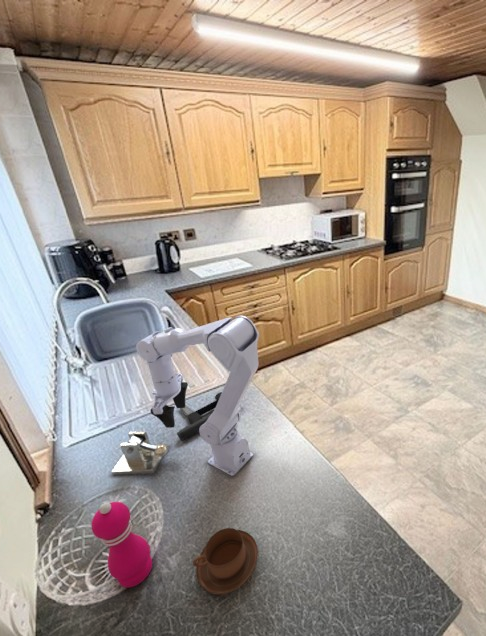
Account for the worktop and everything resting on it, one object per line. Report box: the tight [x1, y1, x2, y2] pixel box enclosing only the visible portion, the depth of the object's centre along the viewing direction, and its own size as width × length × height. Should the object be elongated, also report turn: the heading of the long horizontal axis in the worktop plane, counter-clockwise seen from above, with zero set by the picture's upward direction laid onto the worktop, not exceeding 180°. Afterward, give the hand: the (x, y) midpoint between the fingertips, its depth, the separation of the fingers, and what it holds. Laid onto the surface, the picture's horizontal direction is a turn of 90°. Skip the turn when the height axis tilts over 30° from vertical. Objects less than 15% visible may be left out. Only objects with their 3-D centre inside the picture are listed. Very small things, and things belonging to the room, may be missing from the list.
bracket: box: [111, 430, 169, 475], centre depth 94 cm, size 11×9×8 cm
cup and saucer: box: [192, 527, 259, 595], centre depth 69 cm, size 12×12×6 cm
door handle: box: [176, 391, 222, 441], centre depth 111 cm, size 3×20×16 cm
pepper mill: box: [91, 501, 153, 589], centre depth 66 cm, size 7×7×20 cm
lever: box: [127, 436, 169, 458], centre depth 93 cm, size 10×3×3 cm, turn 91°
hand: (176, 416), depth 96 cm, fingers open, 7 cm apart
